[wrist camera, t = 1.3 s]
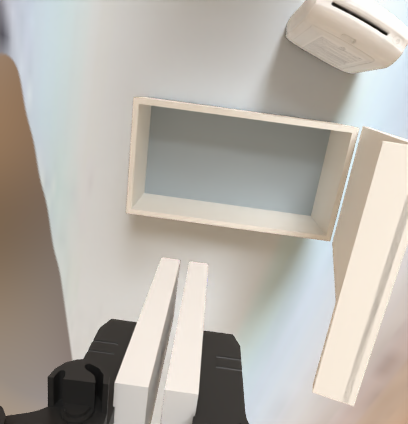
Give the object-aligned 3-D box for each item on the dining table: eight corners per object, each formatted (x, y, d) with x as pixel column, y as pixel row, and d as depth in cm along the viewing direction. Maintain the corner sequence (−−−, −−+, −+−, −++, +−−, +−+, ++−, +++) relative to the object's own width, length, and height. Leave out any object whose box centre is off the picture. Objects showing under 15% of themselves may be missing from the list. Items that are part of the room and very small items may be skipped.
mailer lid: (382, 141, 15) (438, 149, 14) (347, 124, 38) (368, 127, 37) (312, 392, 19) (353, 406, 19) (319, 240, 42) (337, 244, 41)
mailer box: (148, 97, 45) (133, 96, 38) (336, 122, 45) (359, 127, 37) (140, 195, 49) (125, 213, 42) (313, 219, 49) (330, 241, 41)
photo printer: (373, 45, 42) (431, 24, 31) (352, 79, 44) (401, 72, 32) (297, 1, 41) (328, -37, 30) (278, 38, 43) (301, 15, 31)
